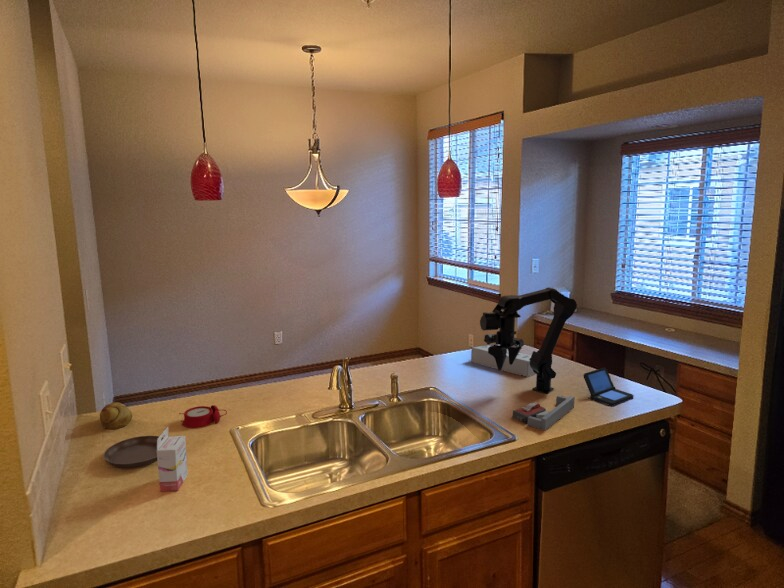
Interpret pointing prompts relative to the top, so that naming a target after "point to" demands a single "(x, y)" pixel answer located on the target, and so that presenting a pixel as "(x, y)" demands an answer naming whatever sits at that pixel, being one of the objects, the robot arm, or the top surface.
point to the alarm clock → (201, 416)
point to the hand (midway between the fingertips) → (505, 367)
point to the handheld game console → (604, 388)
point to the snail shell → (115, 415)
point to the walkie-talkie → (529, 412)
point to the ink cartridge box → (171, 461)
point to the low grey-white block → (518, 366)
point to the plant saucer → (133, 452)
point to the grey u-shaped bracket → (553, 413)
